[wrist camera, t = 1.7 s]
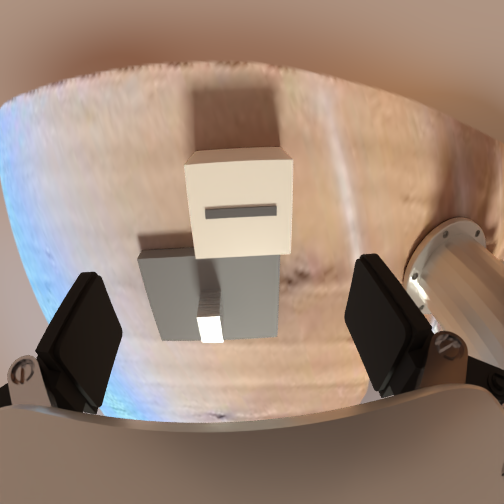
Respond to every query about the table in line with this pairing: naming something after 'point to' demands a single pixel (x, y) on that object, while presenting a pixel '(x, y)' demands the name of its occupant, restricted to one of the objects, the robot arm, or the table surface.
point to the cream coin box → (240, 201)
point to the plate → (211, 278)
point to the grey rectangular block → (210, 316)
